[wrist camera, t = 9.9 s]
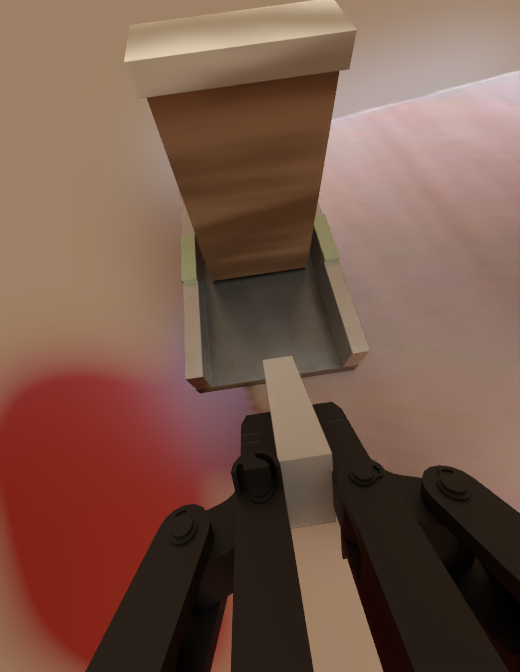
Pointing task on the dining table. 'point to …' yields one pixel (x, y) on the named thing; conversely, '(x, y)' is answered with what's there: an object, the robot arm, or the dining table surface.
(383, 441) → the dining table surface
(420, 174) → the dining table surface
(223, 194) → the brown wooden tall block
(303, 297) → the track
